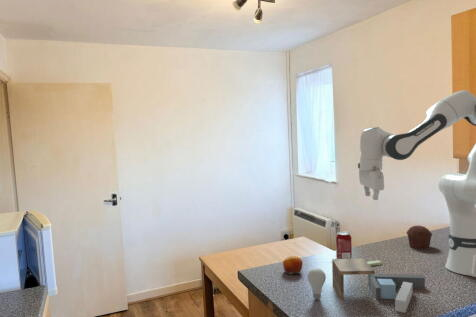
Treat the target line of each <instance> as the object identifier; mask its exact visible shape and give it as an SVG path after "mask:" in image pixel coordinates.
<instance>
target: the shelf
mask: <svg viewBox="0 0 476 317" xmlns="http://www.w3.org/2000/svg"><path fill="white" fill-rule="evenodd" d="M331 260H332V261H331V264H332V265H331V266H332V267H331V268H332V269H331V270H332V271H331V273H332V274H331V275H332V287H333V289H334V290H335V293H336V294H337V296H338V298H339V299H340V301H345V292H344V291H345V290H344V289H345V285H344V284H345V283H344V282H345V280H344V278H345V275H346V276H347V275H350V276H351V275H368V274H376V273H375V269H373V266H370V265H369V264H368V263H367V262H368V261H366V260H365V259H364V258H351V259H338V258H332V259H331Z"/></svg>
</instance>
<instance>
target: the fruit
mask: <svg viewBox="0 0 476 317" xmlns="http://www.w3.org/2000/svg"><path fill="white" fill-rule="evenodd" d="M282 265H283V269H284V271H285V273H286V274H289V275H290V276H292V275H293V274H297V275H298V274H299V275H301V271H302V268H303V259H302V258H301V257H298V256H295V255H294V256H293V255H291V256H288V257H286V258H285V259H283V262H282Z"/></svg>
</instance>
